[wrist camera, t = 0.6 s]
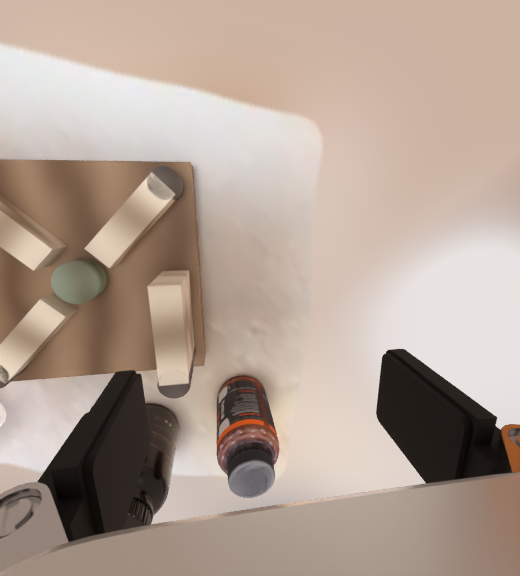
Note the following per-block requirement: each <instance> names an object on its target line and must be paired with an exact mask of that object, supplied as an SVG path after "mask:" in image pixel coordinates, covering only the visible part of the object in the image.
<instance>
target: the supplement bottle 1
mask: <svg viewBox="0 0 520 576" xmlns="http://www.w3.org/2000/svg"><path fill="white" fill-rule="evenodd" d="M145 406H146V413H147V420H148V428H149V435H150V443H149V448H148V452H147V455H146V458H145V461H144V464H143V468H142V471H141V474H140V477H139V480H138V484H137V487H136V490H135V493H134V496H133V500H132V503H131V506H130V509H129V512H128V516H127V519H126V522H125V525H124V528H123V529H129V528H134V527H140V526H145V525H151V522H152V518H153V515H155V514H156V513H157V512H158V511H159V509H160V508H161V507H162V505H163V504H164V502H165V500H166V498H167V495H168V490H169V485H170V478H171V473H172V467H173V461H174V455H175V448H176V442H177V436H178V423H177V420H176V418H175V417H174V415H173V414H172V413H171V412H170V411H168V410H167V409H165V408H163V407H161V406H157V405H145Z"/></svg>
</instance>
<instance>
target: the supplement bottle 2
mask: <svg viewBox="0 0 520 576" xmlns="http://www.w3.org/2000/svg"><path fill="white" fill-rule="evenodd" d="M278 455H279V442H278V438H277V433H276V430H275V426H274V422H273V418H272V415H271V411H270V407H269V403H268V399H267V396H266V393H265V390H264V388H263V386H262V385H261V384H260V383H259V382H258V381H256V380H255V379H253V378H249V377H237V378H234V379H232V380H230V381H228V382H227V383H226V384H224V385H223V387H222V388H221V389H220V391H219V394H218V398H217V459H218V463H219V466H220V467H221V469H222V470H223V471H224V472H225V473H226V474H227V475H228V482H229V487H230V489H231V491H232V492H233V493H234V494H236V495H238V496H240V497H243V498H253V497H257V496H259V495H262V494H263V493H265V492H266V491H268V490H269V489H270V488H271V486H272V485H273V483H274V479H275V472H274V464H275V463H276V461H277V458H278Z"/></svg>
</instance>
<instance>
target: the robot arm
mask: <svg viewBox="0 0 520 576" xmlns="http://www.w3.org/2000/svg"><path fill="white" fill-rule="evenodd" d="M376 414H377V418H378V420H379V422H380V423H381V425H382V426H383V427H384V429H385V430H386V431H387V433H388V434H389V435H390V437H391V438H392V439H393V440H394V442H395V443H396V444H397V446H398V447H399V448H400V450H401V451H402V452H403V454H404V455H405V456H406V457H407V459H408V460H409V461H410V463H411V464H412V465H413V467H414V468H415V469H416V471H417V472H418V473H419V475H420V476H421V477H422V478H423V480H424V481H425V482H426V484H420V485H413V486H405V487H398V488H391V489H384V490H377V491H370V492H363V493H356V494H350V495H342V496H335V497H328V498H321V499H314V500H308V501H301V502H294V503H287V504H281V505H274V506H267V507H260V508H255V509H247V510H241V511H234V512H228V513H221V514H214V515H208V516H201V517H195V518H189V519H182V520H176V521H170V522H164V523H158V524H152V525H145V526H140V527H134V528H129V529H123V528H124V525H125V522H126V519H127V516H128V512H129V509H130V506H131V503H132V500H133V496H134V493H135V490H136V487H137V484H138V480H139V477H140V474H141V471H142V468H143V464H144V461H145V458H146V455H147V452H148V448H149V443H150V435H149V428H148V420H147V413H146V406H145V398H144V391H143V384H142V377H141V374H136V372H135V370H127V371H117V372H116V373H115V374H114V376H113V377H112V379H111V380H110V382H109V383H108V385H107V386H106V388H105V389H104V391H103V392H102V394H101V395H100V397H99V398H98V400H97V401H96V403H95V404H94V406H93V407H92V408H91V410H90V411H89V413H86V414H85V415H84V416H83V417H82V418H81V419H80V421H79V422H78V424H77V425H76V427H75V428H74V430H73V431H72V433H71V434H70V435H69V437H68V438H67V440H66V441H65V443H64V444H63V446H62V447H61V448H60V450H59V451H58V453H57V454H56V456H55V457H54V459H53V460H52V462H51V463H50V464H49V466H48V467H47V469H46V470H45V472H44V473H43V475H42V476H41V477H40V479H39V480H38V482H34V483H26V484H23V485H19V486H16V487H14V488H12V489H10V490H7V491H5V492H4V493H2V494H0V576H520V425H516V424H509V425H505V426H504V427H503V428H502V429H501V430H500V429H498V428H497V427H496V426H495V424H496V420H497V417H496V416H494V415H493V414H492V413H490V412H489V411H487V410H486V409H485V408H483V407H482V406H481V405H479V404H478V403H477V402H475V401H474V400H472V399H471V398H470V397H468V396H467V395H466V394H464V393H463V392H462V391H460V390H459V389H458V388H456V387H455V386H453V385H452V384H451V383H449V382H448V381H447V380H445V379H444V378H443V377H441V376H440V375H438V374H437V373H436V372H434V371H433V370H432V369H430V368H429V367H428V366H426V365H425V364H424V363H422V362H421V361H419V360H418V359H417V358H415V357H414V356H413V355H411V354H410V353H408V352H407V351H406V350H404V349H395V350H388V351H387V352H386V354H384V355H383V357H382V365H381V375H380V383H379V393H378V401H377V412H376Z"/></svg>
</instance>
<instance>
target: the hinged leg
mask: <svg viewBox="0 0 520 576" xmlns="http://www.w3.org/2000/svg"><path fill="white" fill-rule="evenodd" d="M147 288H148V296H149V305H150V313H151V322H152V330H153V339H154V348H155V356H156V365H157V373H158V389H159V391H160V393H161V394H162V395H164V396H165V397H168V398H180V397H182V396H184V395H185V394H186V393H187V392H188V391H189V389H190V384H191V378H192V372H193V366H194V360H195V354H196V347H195V343H194V330H193V317H192V304H191V291H190V278H189V270H176V271H162V272H161V273H160V274H159V275H158V276H157V277H156V278H155V279H154V280H153V281H152V282H151V283H150V284H149V285H148V286H147Z"/></svg>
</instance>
